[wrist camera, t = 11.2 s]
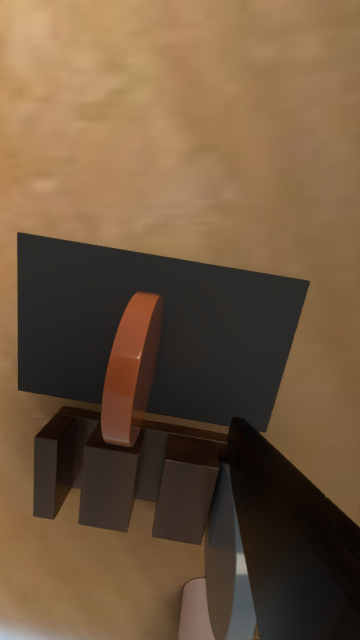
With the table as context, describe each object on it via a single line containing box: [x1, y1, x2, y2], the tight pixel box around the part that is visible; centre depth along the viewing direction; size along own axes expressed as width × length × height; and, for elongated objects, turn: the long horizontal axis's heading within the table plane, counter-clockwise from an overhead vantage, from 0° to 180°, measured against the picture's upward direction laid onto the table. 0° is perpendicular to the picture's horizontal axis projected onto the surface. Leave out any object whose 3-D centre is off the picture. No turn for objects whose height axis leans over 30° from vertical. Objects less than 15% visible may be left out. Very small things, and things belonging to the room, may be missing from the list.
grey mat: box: [17, 232, 310, 432], centre depth 16 cm, size 12×20×1 cm, turn 81°
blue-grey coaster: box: [205, 461, 257, 640], centre depth 14 cm, size 1×8×8 cm, turn 171°
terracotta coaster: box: [101, 291, 163, 447], centre depth 12 cm, size 1×8×8 cm, turn 171°
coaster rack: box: [33, 406, 229, 545], centre depth 17 cm, size 16×7×4 cm, turn 81°
